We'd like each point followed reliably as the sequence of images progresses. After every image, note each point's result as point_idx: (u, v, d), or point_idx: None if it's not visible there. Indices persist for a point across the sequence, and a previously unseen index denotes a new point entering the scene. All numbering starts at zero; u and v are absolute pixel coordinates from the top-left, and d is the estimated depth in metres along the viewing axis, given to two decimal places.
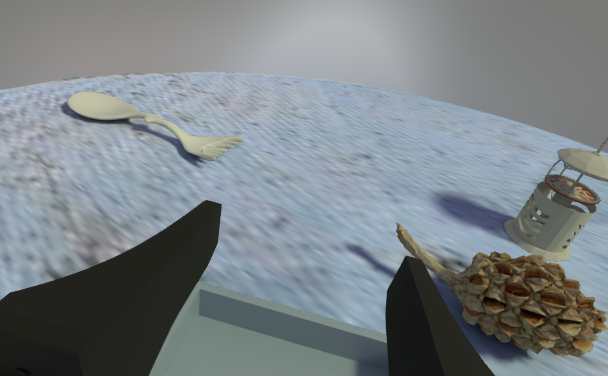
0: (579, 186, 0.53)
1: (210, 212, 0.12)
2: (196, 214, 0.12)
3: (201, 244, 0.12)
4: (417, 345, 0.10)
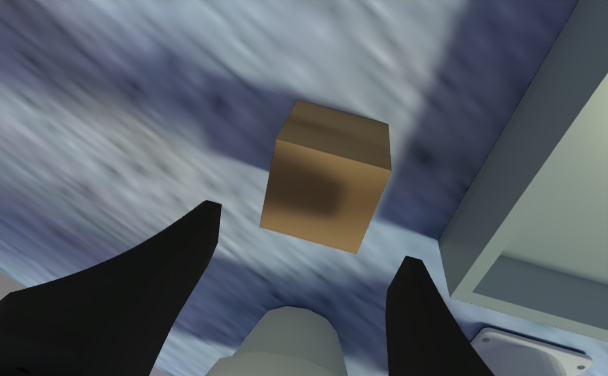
0: None
1: (210, 212, 0.12)
2: (196, 214, 0.12)
3: (201, 244, 0.12)
4: (417, 345, 0.10)
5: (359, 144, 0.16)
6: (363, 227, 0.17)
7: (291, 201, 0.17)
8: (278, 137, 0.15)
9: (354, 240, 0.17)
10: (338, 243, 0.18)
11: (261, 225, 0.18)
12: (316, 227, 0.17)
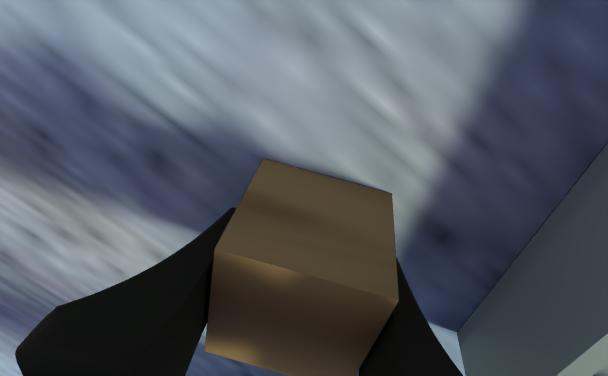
0: None
1: None
2: (225, 222, 0.12)
3: None
4: (382, 335, 0.10)
5: (348, 244, 0.11)
6: (355, 364, 0.11)
7: (247, 325, 0.11)
8: (218, 245, 0.10)
9: None
10: None
11: (207, 349, 0.12)
12: (286, 358, 0.12)
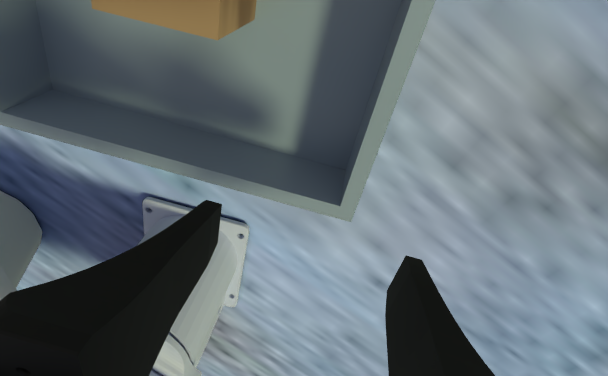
0: None
1: (210, 212, 0.12)
2: (196, 214, 0.12)
3: (201, 244, 0.12)
4: (417, 345, 0.10)
5: None
6: None
7: None
8: None
9: (210, 14, 0.13)
10: (192, 24, 0.13)
11: (94, 5, 0.14)
12: None
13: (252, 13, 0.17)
